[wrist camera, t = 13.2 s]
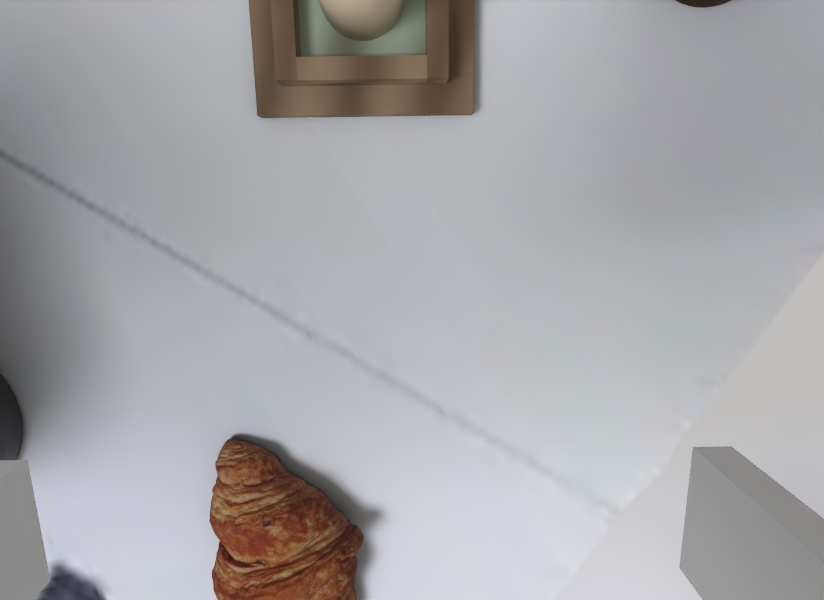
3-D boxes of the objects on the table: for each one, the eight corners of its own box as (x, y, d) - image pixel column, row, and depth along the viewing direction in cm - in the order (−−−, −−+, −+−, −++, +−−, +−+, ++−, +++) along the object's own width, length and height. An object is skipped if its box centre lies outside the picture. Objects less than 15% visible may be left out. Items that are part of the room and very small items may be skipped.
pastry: (174, 566, 47) (127, 641, 39) (232, 427, 44) (194, 478, 36) (340, 628, 49) (328, 712, 41) (407, 498, 46) (407, 561, 38)
